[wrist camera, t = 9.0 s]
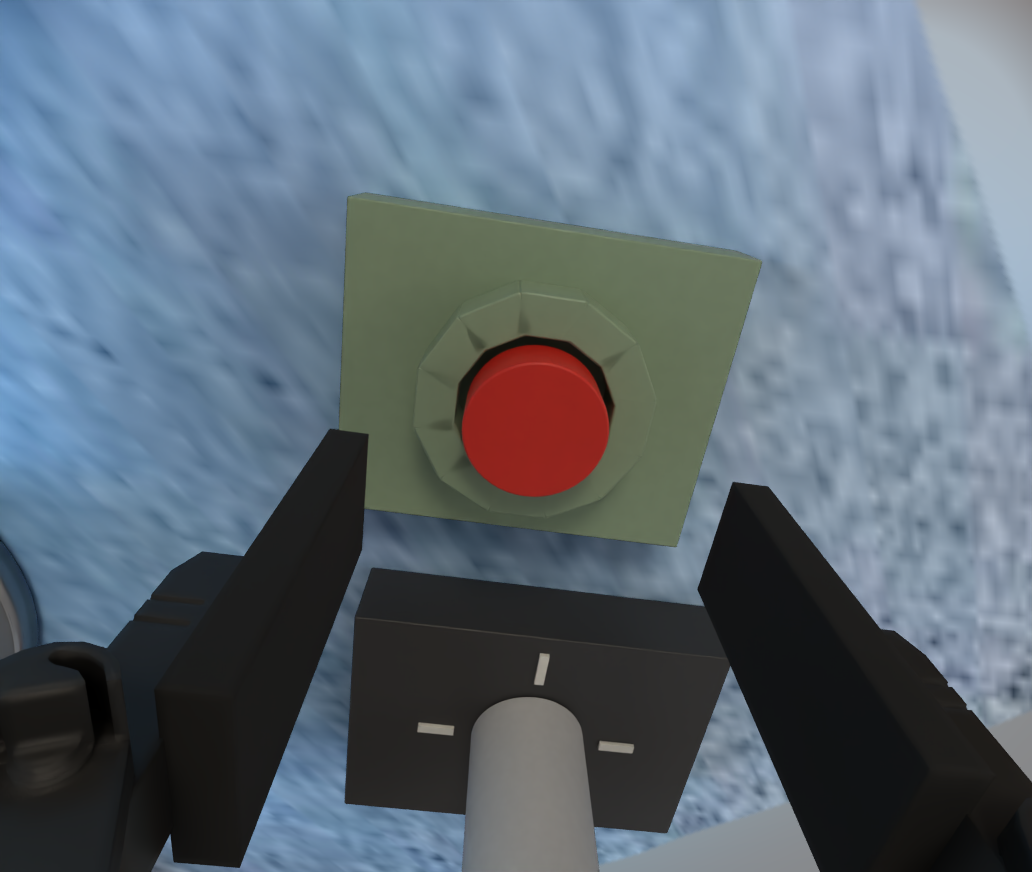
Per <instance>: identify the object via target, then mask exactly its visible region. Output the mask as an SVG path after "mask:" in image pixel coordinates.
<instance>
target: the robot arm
mask: <svg viewBox="0 0 1032 872" xmlns="http://www.w3.org/2000/svg"><path fill="white" fill-rule="evenodd" d="M368 439H369V434H366V433H358V432H351V431H343V430H336V429H329V431H328V432H327V434H326V435H325V437H324V438H323V440H322V441H321V443H320V444H319V446H318V447H317V449H316V450H315V452H314V453H313V455H312V456H311V458H310V459H309V460H308V462H307V463H306V465H305V466H304V468H303V469H302V471H301V472H300V474H299V475H298V477H297V478H296V480H295V481H294V483H293V484H292V486H291V487H290V489H289V490H288V492H287V493H286V495H285V496H284V497H283V499H282V500H281V502H280V503H279V505H278V506H277V508H276V509H275V511H274V512H273V514H272V515H271V517H270V518H269V520H268V521H267V523H266V524H265V526H264V527H263V529H262V530H261V532H260V533H259V534H258V536H257V537H256V539H255V540H254V542H253V543H252V545H251V546H250V548H249V549H248V551H247V552H246V554H245V555H244V556H236V555H228V554H219V553H211V552H201V553H199V554H197V555H196V556H194V557H193V558H191V559H189V560H188V561H186V562H184V563H183V564H181V565H179V566H178V567H176V568H175V569H173V570H171V572H170V573H169V574H168V575H167V576H166V578H165V579H164V580H163V581H162V582H161V584H160V585H159V586H158V587H157V588H156V590H155V591H154V592H153V593H152V595H151V599H150V600H148V599H147V601H146V602H145V603H144V604H143V605H142V607H141V608H140V609H139V610H138V611H137V613H136V614H135V615H134V619H133V621H131V620H130V621H129V622H128V623H127V625H126V626H125V627H124V628H123V630H122V631H121V632H120V633H119V634H118V636H117V637H116V638H115V639H114V640H113V642H112V643H111V644H110V645H109V646H108V648H107V649H106V648H104V647H100V646H97V645H93V644H90V643H86V642H53V643H49V644H45V645H41V646H38V621H37V614H36V609H35V606H34V602H33V598H32V595H31V593H30V590H29V588H28V585H27V582H26V580H25V578H24V577H23V575H22V573H21V571H20V569H19V567H18V565H17V564H16V562H15V560H14V559H13V557H12V556H11V554H10V552H9V551H8V550H7V548H6V547H5V546H4V544H3V543H2V542H1V540H0V872H151V871H152V869H153V867H154V865H155V863H156V861H157V859H158V857H159V855H160V853H161V851H162V849H163V847H164V845H165V843H166V841H167V839H168V837H169V835H170V834H171V843H172V852H173V861H174V862H177V863H188V864H200V865H212V866H224V867H235V868H240V866H241V863H242V860H243V858H244V855H245V853H246V850H247V847H248V845H249V842H250V840H251V837H252V834H253V832H254V829H255V827H256V824H257V821H258V819H259V816H260V814H261V811H262V808H263V806H264V803H265V801H266V798H267V795H268V793H269V790H270V787H271V785H272V782H273V780H274V777H275V774H276V772H277V769H278V767H279V764H280V761H281V759H282V756H283V754H284V751H285V748H286V746H287V743H288V741H289V738H290V735H291V733H292V730H293V728H294V725H295V722H296V720H297V717H298V715H299V712H300V709H301V707H302V704H303V702H304V699H305V696H306V694H307V691H308V689H309V686H310V683H311V681H312V678H313V676H314V673H315V670H316V668H317V665H318V662H319V660H320V657H321V655H322V652H323V649H324V647H325V644H326V642H327V639H328V636H329V634H330V631H331V629H332V626H333V623H334V621H335V618H336V616H337V613H338V610H339V608H340V605H341V603H342V600H343V597H344V595H345V592H346V590H347V587H348V584H349V582H350V579H351V577H352V574H353V571H354V569H355V566H356V564H357V561H358V558H359V556H360V553H361V550H362V541H363V524H364V507H365V490H366V473H367V456H368ZM697 590H698V592H699V594H700V596H701V599H702V601H703V603H704V606H705V608H706V610H707V613H708V615H709V617H710V619H711V622H712V624H713V626H714V629H715V631H716V633H717V636H718V638H719V640H720V643H721V645H722V647H723V649H724V652H725V654H726V656H727V659H728V661H729V663H730V666H731V668H732V670H733V672H734V675H735V677H736V679H737V682H738V684H739V686H740V689H741V691H742V693H743V696H744V698H745V700H746V702H747V705H748V707H749V709H750V712H751V714H752V716H753V719H754V721H755V723H756V725H757V728H758V730H759V732H760V735H761V737H762V739H763V742H764V744H765V746H766V749H767V751H768V753H769V755H770V758H771V760H772V762H773V765H774V767H775V769H776V772H777V774H778V776H779V779H780V781H781V783H782V785H783V788H784V790H785V792H786V795H787V797H788V799H789V802H790V804H791V806H792V808H793V811H794V813H795V815H796V818H797V820H798V822H799V825H800V827H801V829H802V831H803V834H804V836H805V838H806V841H807V843H808V845H809V847H810V850H811V852H812V854H813V857H814V859H815V861H816V864H817V866H818V868H819V870H820V872H1032V782H1031V781H1030V780H1029V778H1028V777H1027V776H1026V775H1025V774H1024V772H1023V771H1022V770H1021V769H1020V768H1019V766H1018V765H1017V764H1016V763H1015V762H1014V760H1013V759H1012V758H1011V757H1010V756H1009V755H1008V753H1007V752H1006V751H1005V750H1004V749H1003V747H1002V746H1001V745H1000V744H999V743H998V741H997V740H996V739H995V738H994V737H993V735H992V734H991V733H990V732H989V731H988V729H987V728H986V727H985V726H984V725H983V723H982V722H981V721H980V720H979V719H978V717H977V716H976V715H975V714H974V713H973V711H972V710H967V708H966V705H967V704H966V703H965V702H964V701H963V699H962V698H961V697H960V696H959V695H958V694H957V692H956V691H955V690H954V689H953V688H952V687H948V685H947V683H948V682H947V680H946V679H945V678H944V677H943V676H942V674H941V673H940V672H939V671H938V670H937V668H936V667H935V666H934V665H933V664H932V662H931V661H930V660H929V659H928V658H927V656H926V655H925V654H923V653H922V652H921V651H919V650H918V649H917V648H916V647H914V646H913V645H912V644H911V643H909V642H908V641H907V640H905V639H904V638H903V637H902V636H900V635H899V634H898V633H896V632H895V631H892V630H883V629H880V628H879V627H878V625H877V624H876V623H875V621H874V620H873V619H872V618H871V616H870V615H869V614H868V613H867V611H866V610H865V609H864V607H863V606H862V605H861V604H860V602H859V601H858V600H857V599H856V597H855V596H854V595H853V594H852V592H851V591H850V590H849V588H848V587H847V586H846V585H845V583H844V582H843V581H842V580H841V578H840V577H839V576H838V574H837V573H836V572H835V571H834V569H833V568H832V567H831V566H830V564H829V563H828V562H827V561H826V559H825V558H824V557H823V555H822V554H821V553H820V552H819V550H818V549H817V548H816V547H815V545H814V544H813V543H812V541H811V540H810V539H809V538H808V536H807V535H806V534H805V533H804V531H803V530H802V529H801V527H800V526H799V525H798V524H797V522H796V521H795V520H794V519H793V517H792V516H791V515H790V514H789V512H788V511H787V510H786V508H785V507H784V506H783V505H782V503H781V502H780V501H779V500H778V498H777V497H776V496H775V494H774V493H773V492H772V491H771V489H770V488H769V487H767V486H759V485H752V484H744V483H737V482H733V483H732V486H731V489H730V492H729V495H728V498H727V501H726V504H725V507H724V510H723V513H722V516H721V519H720V522H719V525H718V528H717V531H716V534H715V537H714V541H713V544H712V547H711V550H710V553H709V556H708V559H707V562H706V565H705V568H704V571H703V574H702V577H701V580H700V583H699V586H698V589H697Z"/></svg>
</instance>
